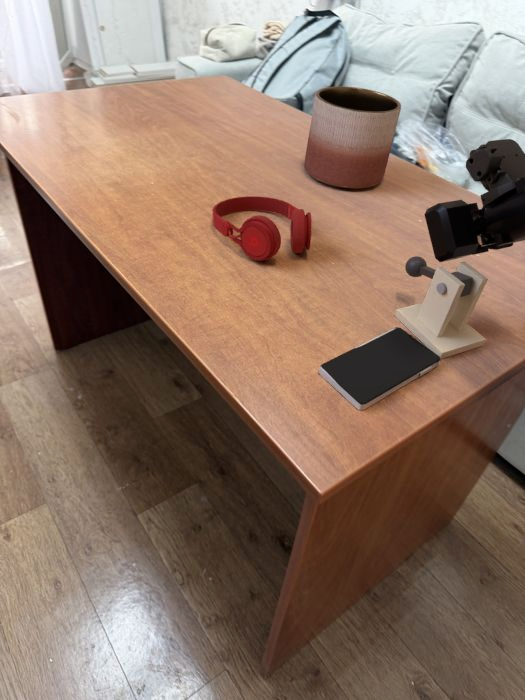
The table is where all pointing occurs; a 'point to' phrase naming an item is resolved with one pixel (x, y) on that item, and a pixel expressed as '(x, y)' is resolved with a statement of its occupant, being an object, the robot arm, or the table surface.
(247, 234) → the headphones
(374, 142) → the planter
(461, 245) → the robot arm
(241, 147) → the table surface
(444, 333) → the switch unit
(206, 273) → the table surface
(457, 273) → the switch lever
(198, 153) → the table surface
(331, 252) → the table surface
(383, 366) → the smartphone
